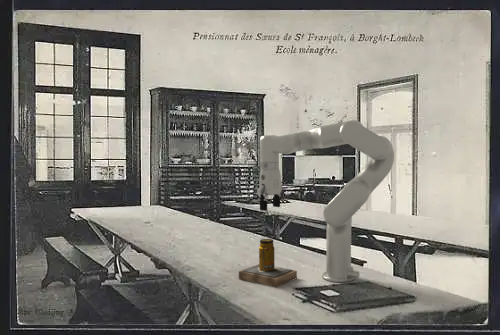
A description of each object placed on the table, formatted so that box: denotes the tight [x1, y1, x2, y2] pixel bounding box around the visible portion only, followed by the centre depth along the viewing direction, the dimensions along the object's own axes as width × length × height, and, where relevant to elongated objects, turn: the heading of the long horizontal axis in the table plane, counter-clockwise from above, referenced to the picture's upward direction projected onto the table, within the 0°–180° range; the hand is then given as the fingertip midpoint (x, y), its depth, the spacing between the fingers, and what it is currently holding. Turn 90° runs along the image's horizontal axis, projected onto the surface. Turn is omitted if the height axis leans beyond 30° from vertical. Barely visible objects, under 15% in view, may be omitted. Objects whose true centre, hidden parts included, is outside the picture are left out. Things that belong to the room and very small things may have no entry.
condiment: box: [258, 238, 281, 272], centre depth 219 cm, size 7×8×12 cm
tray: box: [238, 263, 298, 288], centre depth 220 cm, size 18×14×3 cm
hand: (270, 208), depth 225 cm, fingers open, 9 cm apart
